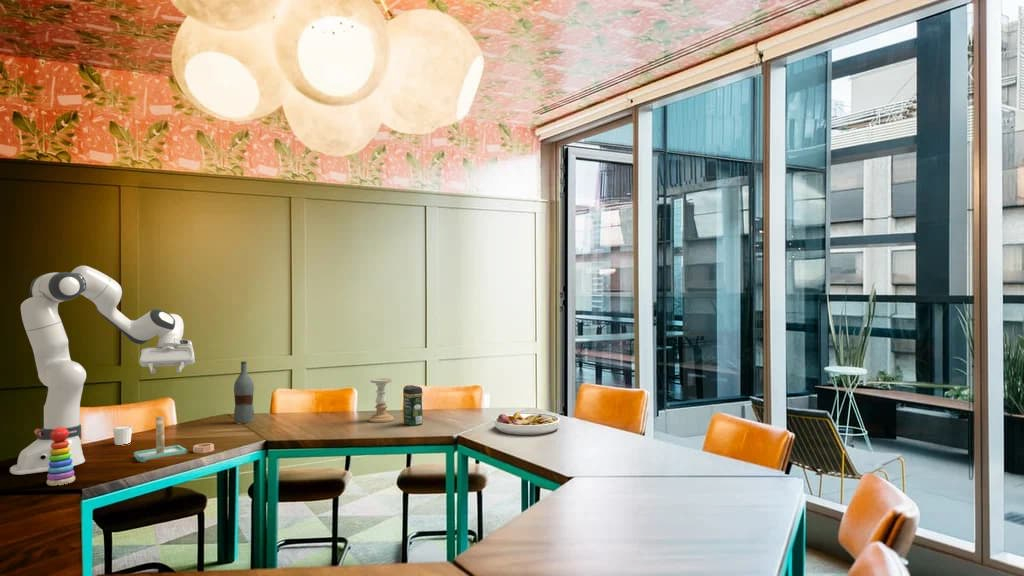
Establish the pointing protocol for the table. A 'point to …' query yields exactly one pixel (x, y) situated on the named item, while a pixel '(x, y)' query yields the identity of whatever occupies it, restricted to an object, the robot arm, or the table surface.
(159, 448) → the dowel
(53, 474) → the stacking toy
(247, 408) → the bottle
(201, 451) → the wooden ring
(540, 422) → the bowl
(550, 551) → the table surface
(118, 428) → the white tapered pot
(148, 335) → the robot arm
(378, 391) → the candle holder
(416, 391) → the coffee jar
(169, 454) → the tray
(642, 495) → the table surface
